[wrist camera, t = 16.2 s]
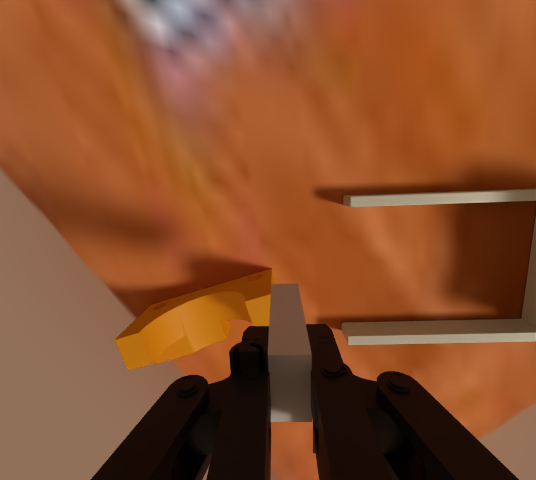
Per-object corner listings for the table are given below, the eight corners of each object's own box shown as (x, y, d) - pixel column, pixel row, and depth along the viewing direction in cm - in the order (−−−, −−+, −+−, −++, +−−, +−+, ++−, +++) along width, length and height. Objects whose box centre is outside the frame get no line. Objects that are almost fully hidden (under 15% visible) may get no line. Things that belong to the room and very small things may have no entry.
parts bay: (343, 195, 25) (350, 196, 22) (549, 188, 24) (580, 188, 22) (341, 330, 27) (348, 344, 25) (529, 326, 26) (554, 340, 24)
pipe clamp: (168, 343, 28) (137, 390, 22) (151, 303, 27) (114, 340, 21) (285, 309, 27) (289, 348, 21) (272, 267, 26) (270, 293, 20)
